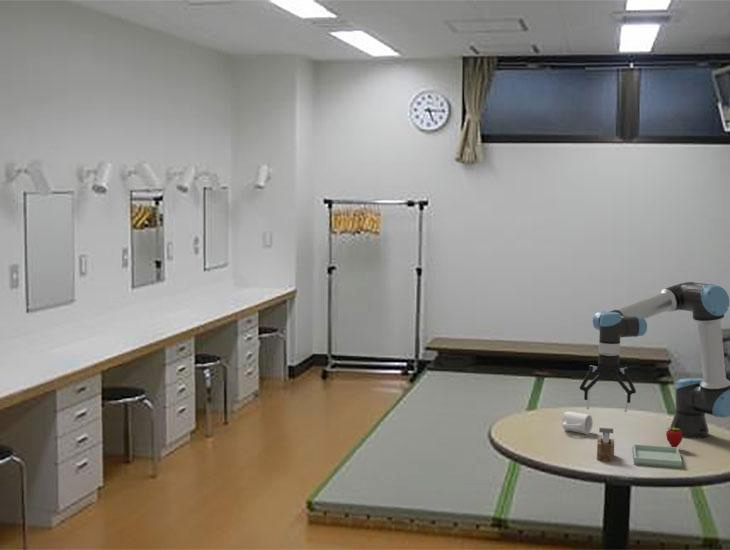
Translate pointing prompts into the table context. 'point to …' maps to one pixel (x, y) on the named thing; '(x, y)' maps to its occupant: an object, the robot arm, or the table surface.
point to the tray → (656, 456)
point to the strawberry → (674, 436)
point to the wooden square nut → (605, 450)
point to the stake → (606, 434)
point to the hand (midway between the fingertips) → (606, 410)
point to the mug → (577, 422)
